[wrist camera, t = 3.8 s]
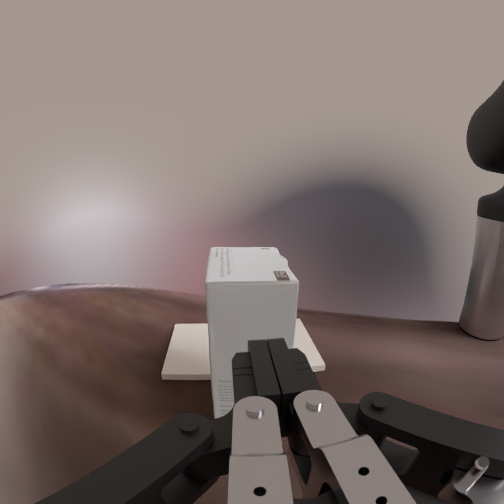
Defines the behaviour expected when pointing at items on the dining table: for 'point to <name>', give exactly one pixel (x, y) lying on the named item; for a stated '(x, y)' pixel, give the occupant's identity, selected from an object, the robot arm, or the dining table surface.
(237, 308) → the skincare box
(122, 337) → the dining table surface
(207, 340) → the mat
